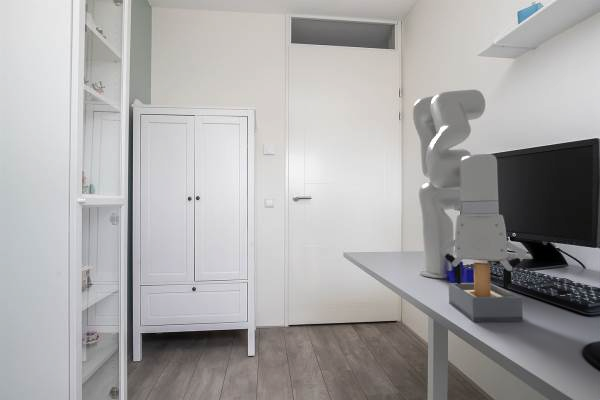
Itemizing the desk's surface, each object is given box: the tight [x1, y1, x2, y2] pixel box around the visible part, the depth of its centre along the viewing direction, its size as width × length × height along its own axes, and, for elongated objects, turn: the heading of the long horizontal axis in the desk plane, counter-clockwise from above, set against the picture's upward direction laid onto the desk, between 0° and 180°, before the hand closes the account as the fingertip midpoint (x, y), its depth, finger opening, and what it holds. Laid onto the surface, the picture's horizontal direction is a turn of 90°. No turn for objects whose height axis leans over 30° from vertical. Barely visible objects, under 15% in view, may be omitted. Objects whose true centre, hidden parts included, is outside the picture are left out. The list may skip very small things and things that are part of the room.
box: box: [448, 282, 524, 323], centre depth 72 cm, size 12×10×5 cm
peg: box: [473, 261, 491, 297], centre depth 72 cm, size 3×3×10 cm
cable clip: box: [446, 260, 474, 283], centre depth 95 cm, size 12×4×6 cm, turn 173°
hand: (481, 284), depth 72 cm, fingers open, 8 cm apart
